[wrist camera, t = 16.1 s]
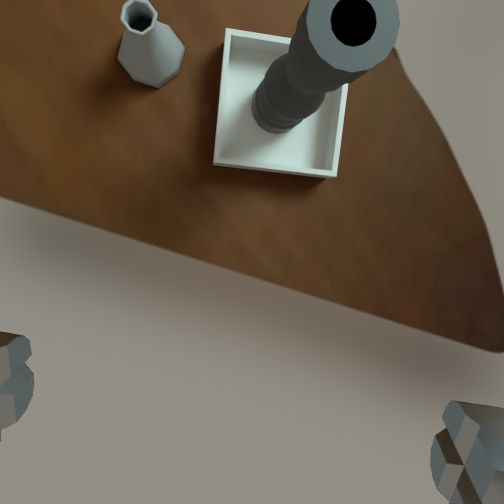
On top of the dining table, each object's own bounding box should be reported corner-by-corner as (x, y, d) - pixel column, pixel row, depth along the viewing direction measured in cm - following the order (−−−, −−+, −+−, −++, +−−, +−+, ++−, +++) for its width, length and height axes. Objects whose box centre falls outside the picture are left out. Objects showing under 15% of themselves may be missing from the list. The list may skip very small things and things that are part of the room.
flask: (161, 100, 48) (151, 74, 38) (106, 61, 47) (80, 24, 37) (196, 47, 48) (194, 7, 38) (141, 6, 46) (125, -46, 36)
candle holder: (251, 78, 48) (302, -41, 23) (303, 80, 49) (406, -34, 24) (250, 133, 49) (300, 75, 24) (302, 134, 50) (401, 78, 25)
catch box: (212, 164, 49) (213, 162, 45) (224, 41, 48) (226, 27, 44) (326, 178, 51) (336, 176, 47) (340, 60, 50) (352, 48, 46)
